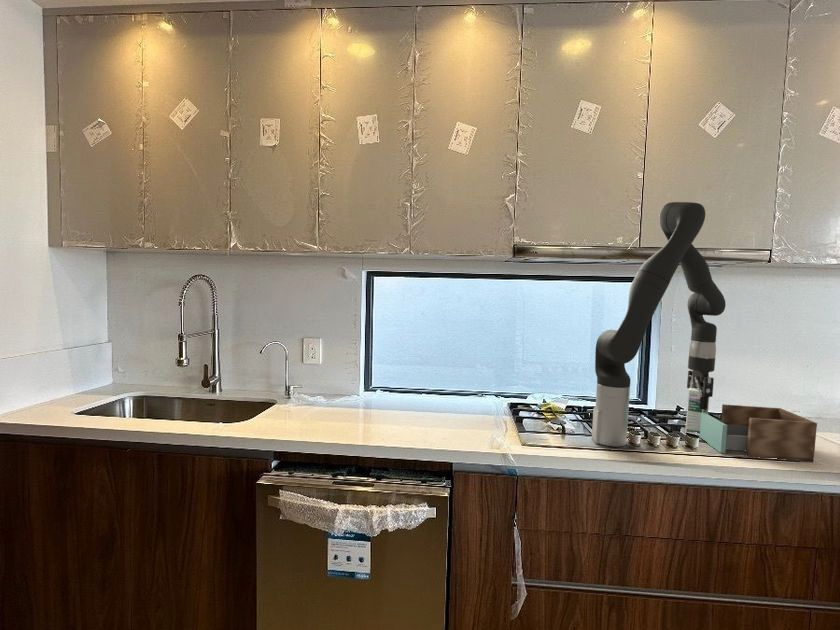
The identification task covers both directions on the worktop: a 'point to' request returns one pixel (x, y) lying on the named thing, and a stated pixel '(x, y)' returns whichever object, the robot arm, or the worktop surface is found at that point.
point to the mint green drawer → (723, 434)
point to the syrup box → (694, 411)
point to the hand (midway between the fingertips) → (698, 406)
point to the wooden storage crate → (773, 432)
